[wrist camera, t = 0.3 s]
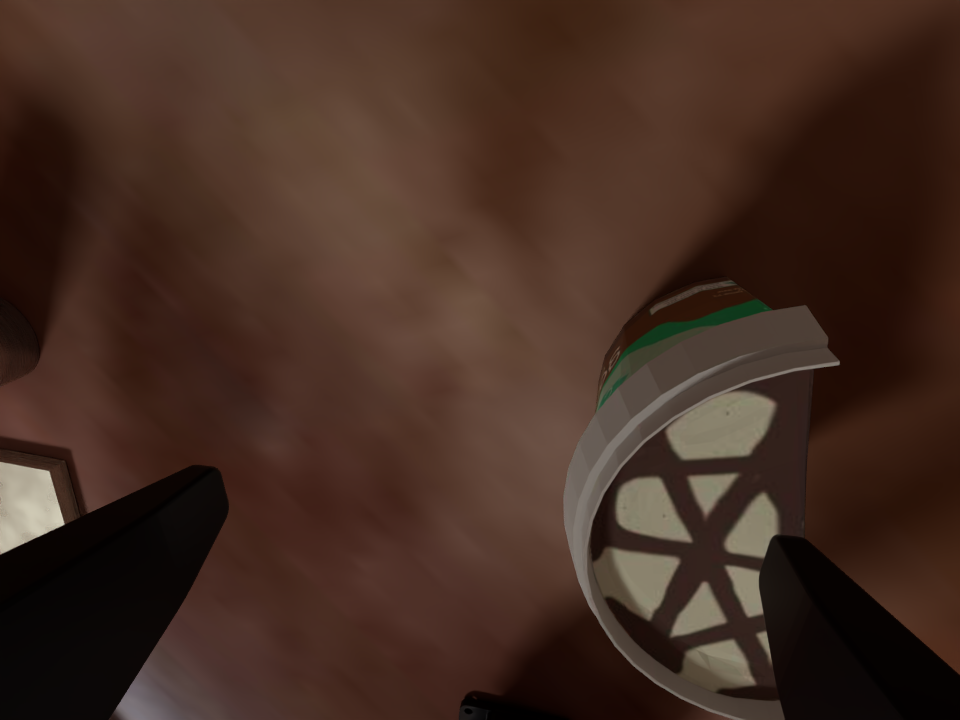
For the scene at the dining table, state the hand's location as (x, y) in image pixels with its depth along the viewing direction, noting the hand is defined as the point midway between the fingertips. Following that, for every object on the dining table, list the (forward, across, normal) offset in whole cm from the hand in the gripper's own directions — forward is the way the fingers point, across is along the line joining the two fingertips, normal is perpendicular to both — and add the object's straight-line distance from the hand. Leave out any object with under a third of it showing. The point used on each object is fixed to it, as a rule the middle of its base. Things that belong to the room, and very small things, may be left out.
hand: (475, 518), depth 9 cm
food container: (+14, -5, +5) cm, 16 cm away
